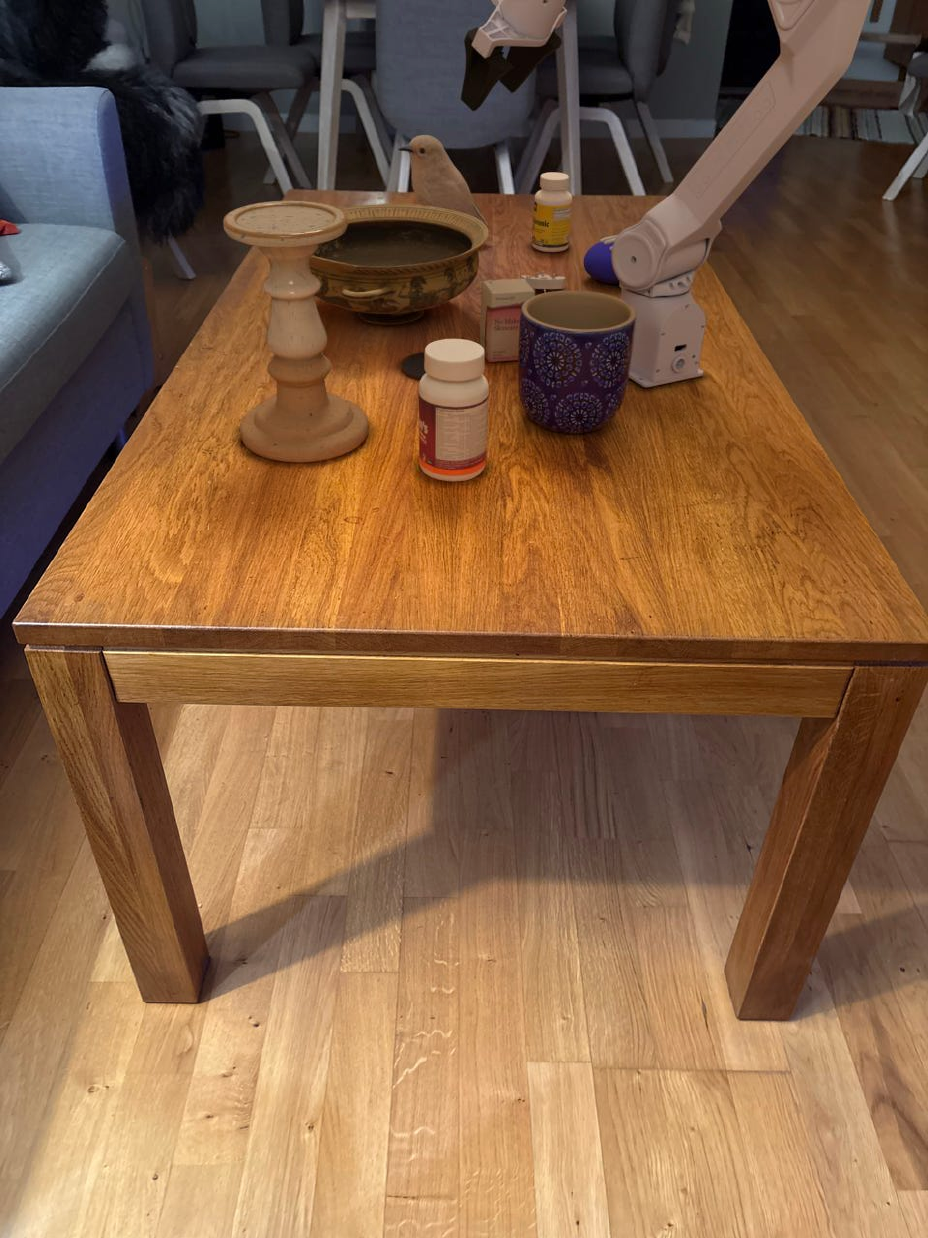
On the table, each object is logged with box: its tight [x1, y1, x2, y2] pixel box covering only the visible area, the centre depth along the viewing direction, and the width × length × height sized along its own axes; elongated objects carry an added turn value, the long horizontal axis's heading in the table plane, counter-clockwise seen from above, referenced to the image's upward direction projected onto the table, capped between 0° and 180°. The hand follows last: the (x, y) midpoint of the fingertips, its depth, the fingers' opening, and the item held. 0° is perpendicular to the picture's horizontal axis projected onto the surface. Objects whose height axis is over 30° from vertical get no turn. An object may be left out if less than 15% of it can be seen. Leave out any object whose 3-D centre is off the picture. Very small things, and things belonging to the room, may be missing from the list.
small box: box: [479, 278, 536, 363], centre depth 108 cm, size 5×4×8 cm
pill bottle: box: [418, 338, 490, 482], centre depth 86 cm, size 6×6×11 cm
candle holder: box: [222, 200, 370, 463], centre depth 88 cm, size 12×12×20 cm
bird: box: [397, 134, 492, 234], centre depth 136 cm, size 5×14×15 cm, turn 105°
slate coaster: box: [401, 351, 426, 381], centre depth 107 cm, size 7×7×1 cm
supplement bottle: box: [531, 171, 573, 253], centre depth 139 cm, size 5×5×10 cm
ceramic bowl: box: [310, 203, 490, 326], centre depth 116 cm, size 30×24×10 cm
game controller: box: [520, 270, 566, 293], centre depth 124 cm, size 6×12×3 cm, turn 16°
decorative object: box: [582, 234, 620, 285], centre depth 128 cm, size 10×6×10 cm
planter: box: [517, 289, 636, 435], centre depth 94 cm, size 11×11×11 cm
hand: (488, 95), depth 108 cm, fingers open, 7 cm apart
